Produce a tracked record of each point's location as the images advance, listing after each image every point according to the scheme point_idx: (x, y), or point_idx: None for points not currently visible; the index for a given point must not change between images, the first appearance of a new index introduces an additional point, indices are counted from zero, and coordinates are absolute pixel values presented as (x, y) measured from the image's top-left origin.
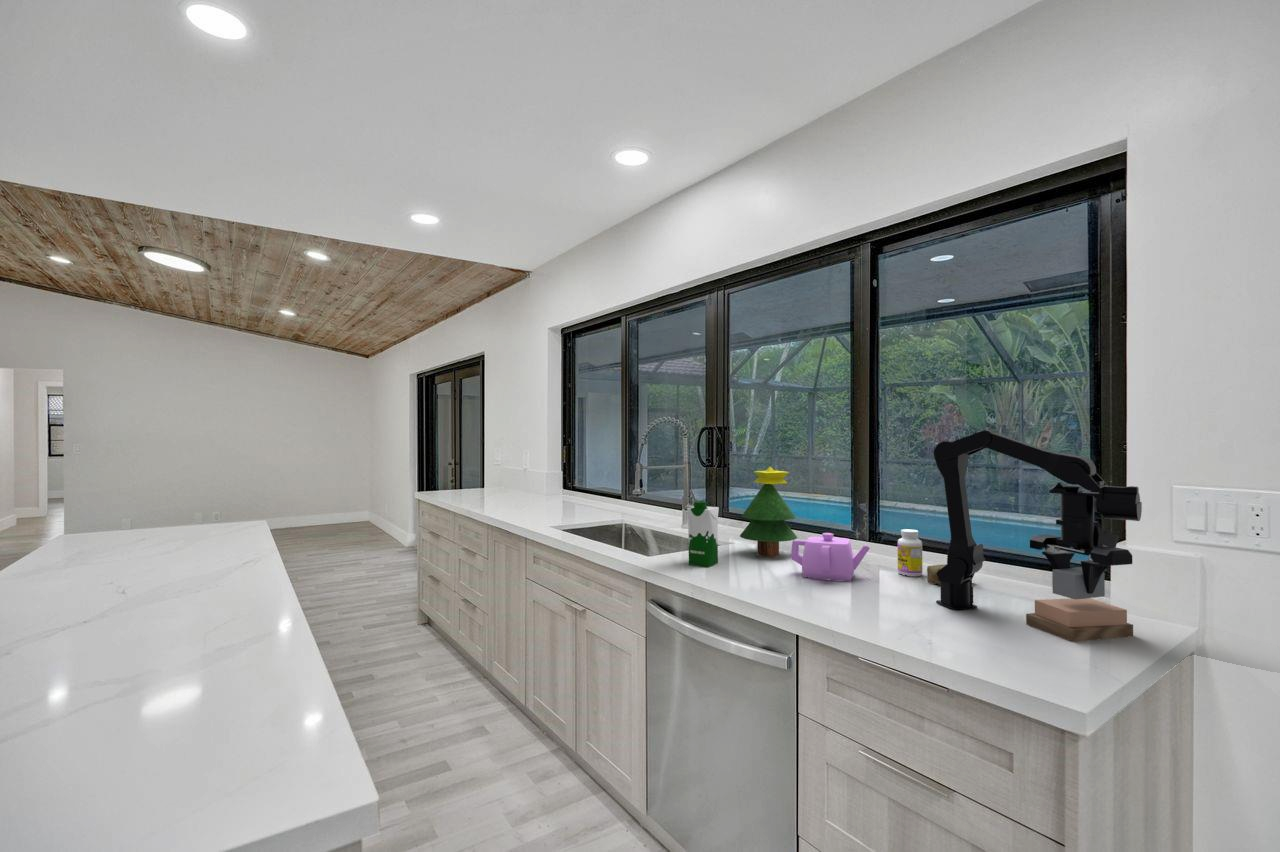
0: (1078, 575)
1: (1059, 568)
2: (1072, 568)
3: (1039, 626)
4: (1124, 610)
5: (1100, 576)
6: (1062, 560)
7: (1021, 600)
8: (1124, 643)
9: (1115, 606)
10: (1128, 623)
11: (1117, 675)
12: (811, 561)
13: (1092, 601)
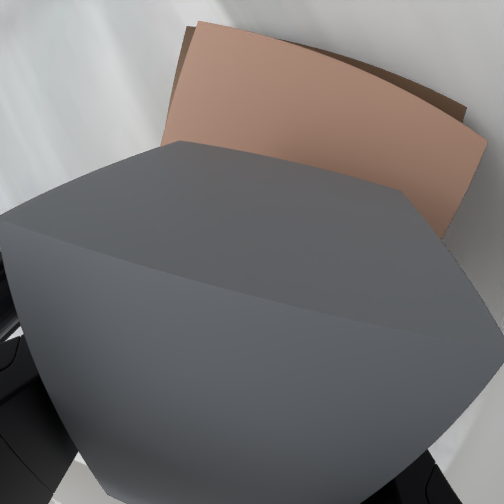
0: None
1: (70, 452)
2: (69, 406)
3: None
4: (480, 155)
5: (446, 483)
6: (13, 486)
7: (2, 56)
8: (453, 240)
9: (419, 101)
10: (448, 102)
11: (451, 442)
12: None
13: (267, 95)
